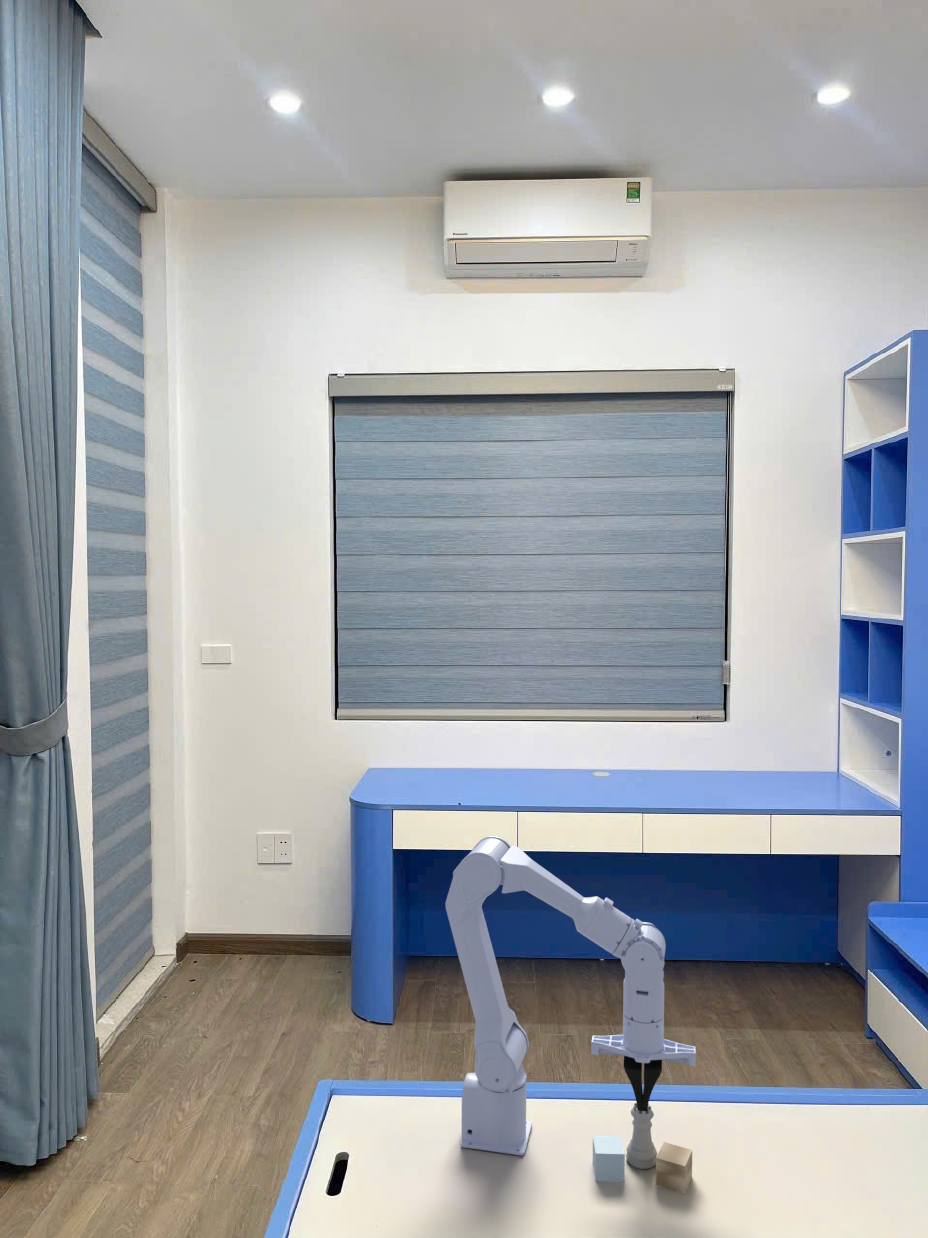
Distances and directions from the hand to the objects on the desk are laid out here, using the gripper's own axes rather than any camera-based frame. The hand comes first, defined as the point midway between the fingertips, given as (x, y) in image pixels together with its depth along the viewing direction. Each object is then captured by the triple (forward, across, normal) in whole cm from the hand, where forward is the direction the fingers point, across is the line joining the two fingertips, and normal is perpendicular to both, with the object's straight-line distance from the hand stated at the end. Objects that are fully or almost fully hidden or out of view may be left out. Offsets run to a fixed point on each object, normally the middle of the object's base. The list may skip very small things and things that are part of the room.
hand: (642, 1107), depth 131 cm
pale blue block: (+8, -5, -4) cm, 10 cm away
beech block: (+8, +4, -4) cm, 10 cm away
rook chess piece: (+8, 0, 0) cm, 8 cm away
